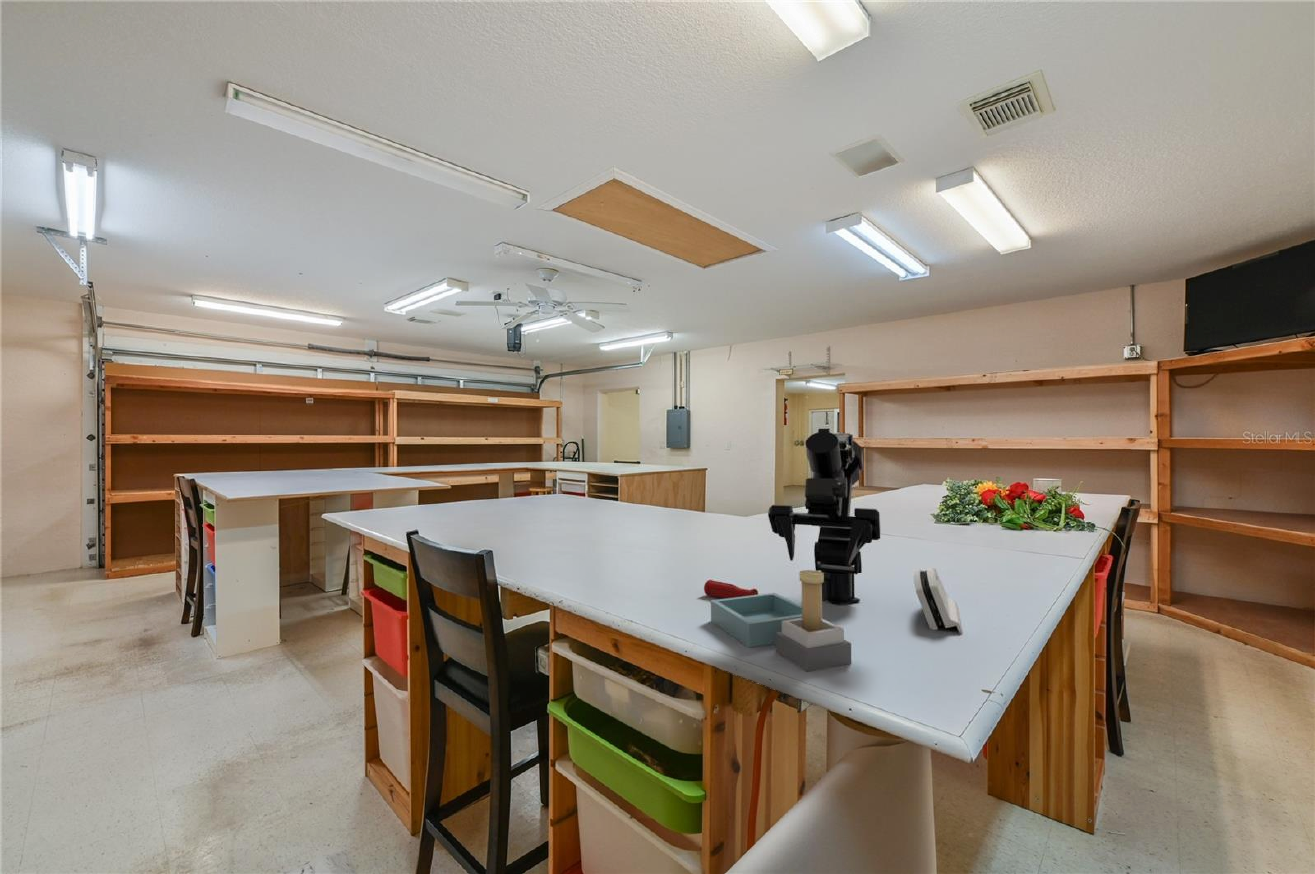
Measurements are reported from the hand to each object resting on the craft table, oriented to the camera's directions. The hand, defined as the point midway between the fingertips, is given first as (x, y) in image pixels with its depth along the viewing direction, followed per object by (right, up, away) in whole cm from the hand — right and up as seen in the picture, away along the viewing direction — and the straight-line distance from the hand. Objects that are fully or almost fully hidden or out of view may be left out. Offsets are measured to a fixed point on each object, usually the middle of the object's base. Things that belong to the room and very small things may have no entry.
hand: (818, 561), depth 88 cm
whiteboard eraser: (+26, -14, +12) cm, 32 cm away
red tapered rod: (-7, -14, +20) cm, 25 cm away
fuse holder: (-3, -13, -7) cm, 15 cm away
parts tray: (-8, -13, +6) cm, 17 cm away
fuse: (-3, -10, -7) cm, 13 cm away
